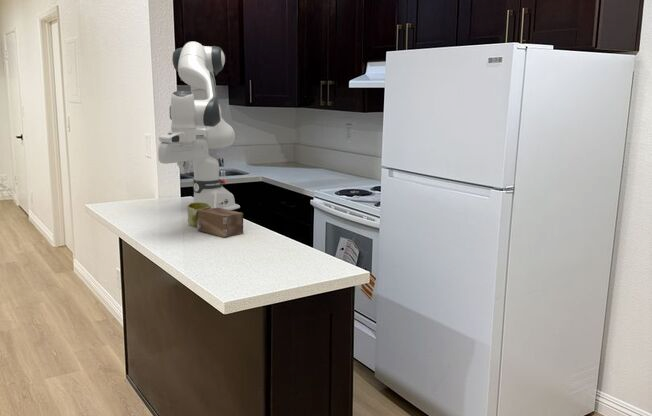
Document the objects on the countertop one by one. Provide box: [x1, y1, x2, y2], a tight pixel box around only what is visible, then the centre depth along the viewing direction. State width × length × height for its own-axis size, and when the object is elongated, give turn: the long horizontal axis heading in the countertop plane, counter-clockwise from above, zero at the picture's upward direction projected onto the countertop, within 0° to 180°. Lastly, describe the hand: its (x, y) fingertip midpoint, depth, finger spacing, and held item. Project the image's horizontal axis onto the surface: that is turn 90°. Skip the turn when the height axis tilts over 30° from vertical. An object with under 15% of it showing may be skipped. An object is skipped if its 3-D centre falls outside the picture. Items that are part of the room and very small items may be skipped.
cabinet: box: [204, 208, 244, 238], centre depth 226 cm, size 8×15×8 cm, turn 49°
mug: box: [186, 202, 211, 227], centre depth 237 cm, size 12×10×10 cm
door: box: [196, 210, 227, 238], centre depth 222 cm, size 2×16×8 cm, turn 50°
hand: (185, 173), depth 218 cm, fingers closed
